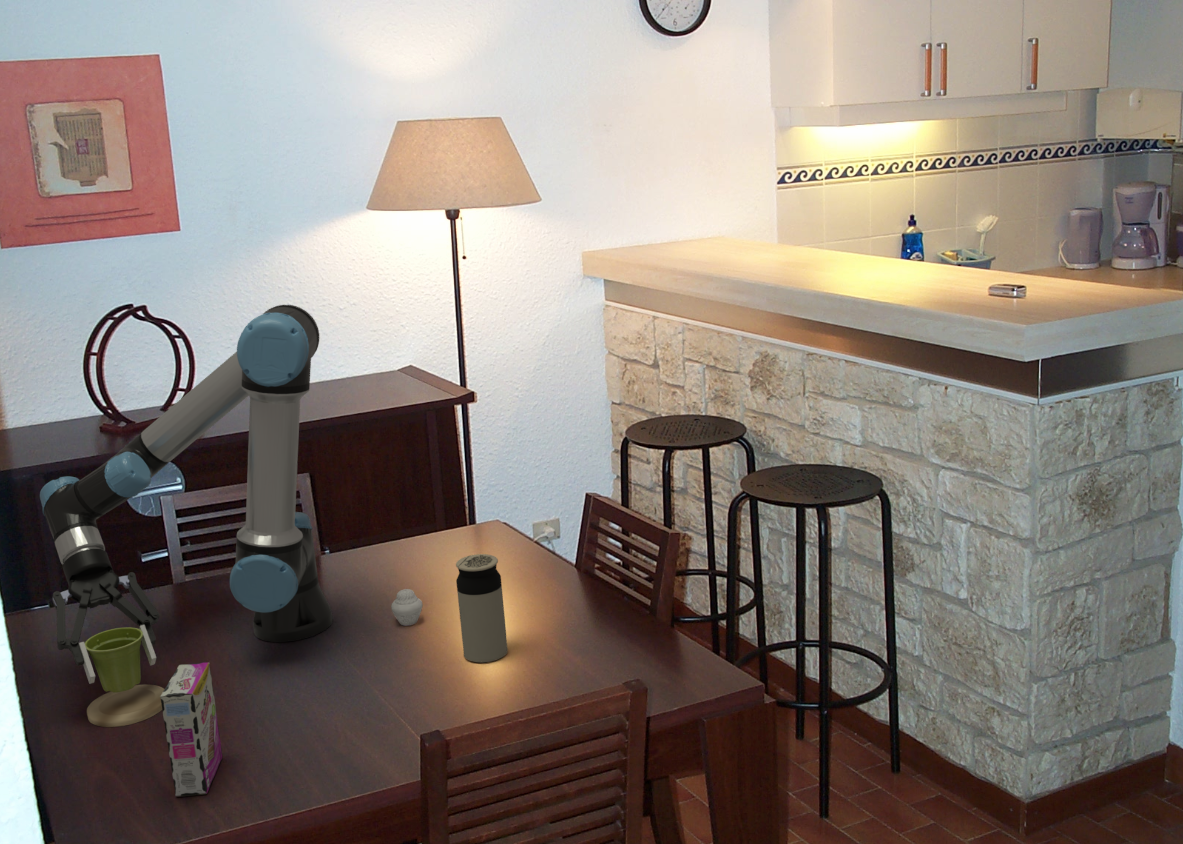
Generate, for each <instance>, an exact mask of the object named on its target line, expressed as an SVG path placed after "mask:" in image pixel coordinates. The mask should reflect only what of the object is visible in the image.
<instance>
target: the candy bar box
mask: <svg viewBox="0 0 1183 844" xmlns="http://www.w3.org/2000/svg"><path fill="white" fill-rule="evenodd" d="M210 664H211V663H210V661H209V662H197V663H196V662H195V663H188V664H187V663H186V664H179V665H178V666H177V668H176V670H175V672H174V673H173V674H172V676H171V678H170V680H169V681H168V683H167V684H166V685H165V688H164V691H163V693H162V694H161V696H160V699H161V704H162V710H161V712H162V716H163V717H162V718H163V722H164V728H165V735H166V743H167V748H168V754H169V760H170V761H169V762H170V767H171V774H172V780H173V788H174V794H175V797H178V798H179V797H190V796H201V795H207V794H208V792H209V790H210V788H211V786H212V782H213V780H214V778H215V776H216V774H217V771H218V769H219V766H220V764H221V762H222V759H223V748H222V743H221V736H220V730H219V729H220V728H219V723H218V715H217V708H216V700H215V694H214V692H215V691H214V685H213V679H212V673H211V666H210Z"/></svg>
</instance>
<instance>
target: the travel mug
mask: <svg viewBox="0 0 1183 844" xmlns="http://www.w3.org/2000/svg"><path fill="white" fill-rule="evenodd" d="M498 562H499V559H498V557H497V556H495V555H491V554H486V553H483V554H482V553H479V554H478V553H477V554H471V555H466V556H464V557H461V558H460V559H458V560H457V561H456V563H455V567H456V568H457V569H458V573H459V574H458V576H457V578H456V580H455V581H456V590H457V591H456V592H457V601H458V609H459V610H458V611H459V612H458V613H459V620H460V630H461V640H462V649H463V650H462V651H463V657H464V658H465V659H466V660H468V661H469V662H470V661H471V662H474V663H491V662H496V661H497V660H500V659H501V658H503V657H504V656H506V655H507V654H508V651H509V649H508V639H507V638H508V637H507V629H506V618H505V606H504V595H503V586H502V576H501V574H500V572H499V571H498V569H497V564H498Z"/></svg>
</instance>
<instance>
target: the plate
mask: <svg viewBox="0 0 1183 844" xmlns="http://www.w3.org/2000/svg"><path fill="white" fill-rule="evenodd" d="M164 689H165V688H164V687H162V686H159V685H154V684H136V685H135V686H134V687H133V688H131V689H129V690H126V691H122V692H112V691H107V692H106V693H105V694H104V693H103V694H102V695H100V696H98V697H97V698H96V699H94V700H93V701H92V702H90V704H89V705H88V706H87V708H86V715H87V719H88V721H89V723H90V724H92V725H94V726H98V727H102V728H117V727H124V726H129V725H134V724H136V723H140V722H142V721H145V720H148V719H150V718H152V717H154V716H155V715H157V714H159V713H160V712H162V704H161V699H160V696H161V694H162V693H163V691H164Z"/></svg>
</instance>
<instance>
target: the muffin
mask: <svg viewBox="0 0 1183 844" xmlns="http://www.w3.org/2000/svg"><path fill="white" fill-rule="evenodd" d="M423 605H424V604H423V601H422V600H421V599H420V598H419V597H418V596H417V595H416V594H415V592H414V590H413V589H410V588H404V589H401V590H399V591H398V592H397V593H396V597H395V598H394V600H393V602H392V603H391V607H390V609H391V612H392V614H393V616H394V617H395V618H396V620H397V621H398V623H399V624H400V625H401V626H405V627H406V626H408V627H409V626H412V625H416V624H417V623H418V620H419V618H420V615H421V612H422V611H423V610H422V608H423Z"/></svg>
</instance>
